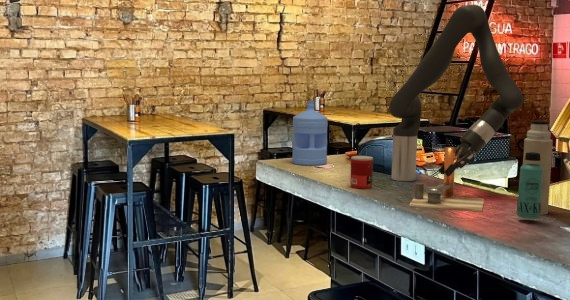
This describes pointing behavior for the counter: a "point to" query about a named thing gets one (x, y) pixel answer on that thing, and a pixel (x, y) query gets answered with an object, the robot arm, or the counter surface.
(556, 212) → the counter surface
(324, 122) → the water jug
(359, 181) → the canned food
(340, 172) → the counter surface
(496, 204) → the counter surface
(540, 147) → the thermos bottle
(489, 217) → the counter surface
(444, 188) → the lever
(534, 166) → the beverage bottle
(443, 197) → the hub board
